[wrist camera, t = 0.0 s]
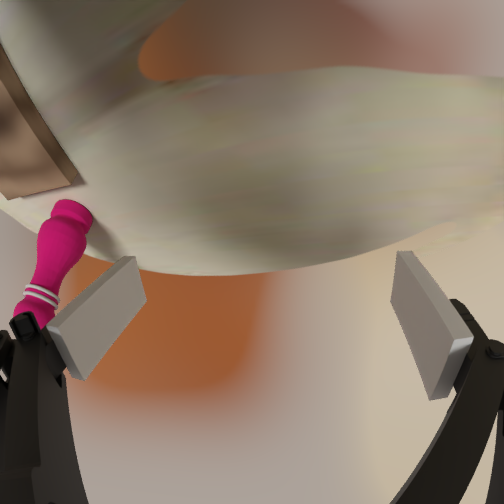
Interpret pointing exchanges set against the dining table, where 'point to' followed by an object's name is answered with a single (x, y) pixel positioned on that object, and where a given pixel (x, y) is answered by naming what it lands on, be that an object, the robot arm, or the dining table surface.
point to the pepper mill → (55, 258)
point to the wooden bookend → (27, 143)
